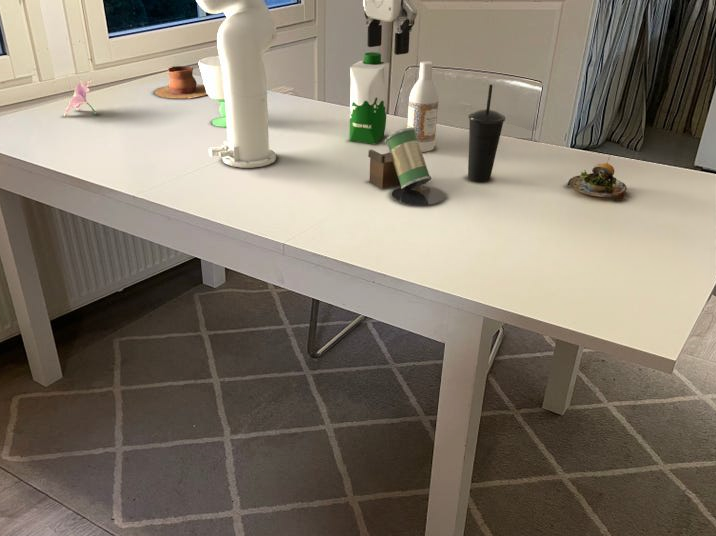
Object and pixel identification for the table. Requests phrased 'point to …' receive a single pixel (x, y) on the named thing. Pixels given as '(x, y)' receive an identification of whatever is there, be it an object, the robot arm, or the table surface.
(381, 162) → the rest
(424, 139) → the bath foam
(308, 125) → the table surface
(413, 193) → the coaster
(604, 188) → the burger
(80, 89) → the lily
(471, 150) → the drinking cup
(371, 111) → the milk carton
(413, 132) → the can
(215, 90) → the cup
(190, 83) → the ceramic pot
